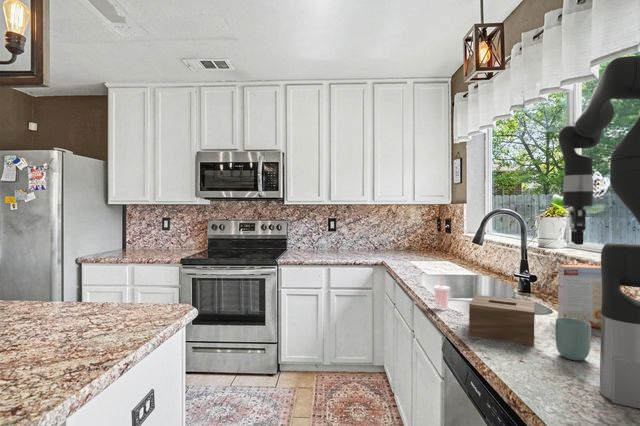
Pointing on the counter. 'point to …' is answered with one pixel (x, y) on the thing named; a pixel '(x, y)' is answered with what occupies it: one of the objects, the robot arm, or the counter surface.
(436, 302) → the beverage cup
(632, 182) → the robot arm
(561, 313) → the cracker box
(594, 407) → the counter surface
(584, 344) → the cup
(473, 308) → the coin box
